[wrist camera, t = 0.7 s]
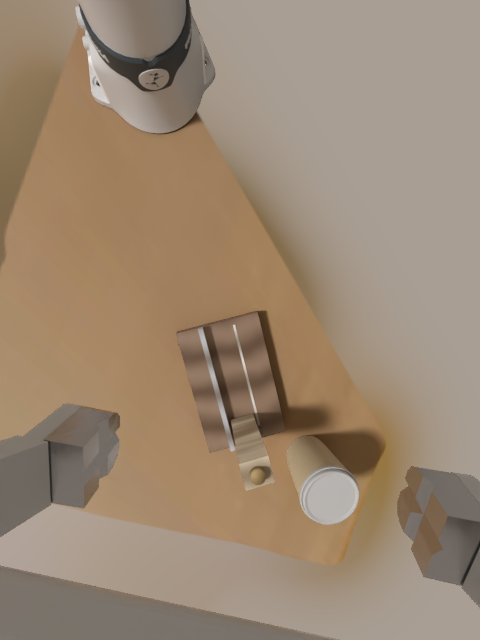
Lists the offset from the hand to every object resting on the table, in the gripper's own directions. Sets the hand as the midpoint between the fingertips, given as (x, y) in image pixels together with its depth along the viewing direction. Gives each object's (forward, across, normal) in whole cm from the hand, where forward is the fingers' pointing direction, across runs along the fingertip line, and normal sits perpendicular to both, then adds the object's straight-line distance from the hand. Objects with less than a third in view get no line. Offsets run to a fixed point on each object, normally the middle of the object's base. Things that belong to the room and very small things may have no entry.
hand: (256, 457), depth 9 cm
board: (+42, +4, +19) cm, 47 cm away
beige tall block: (+40, 0, +26) cm, 48 cm away
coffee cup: (+44, -12, +33) cm, 56 cm away
